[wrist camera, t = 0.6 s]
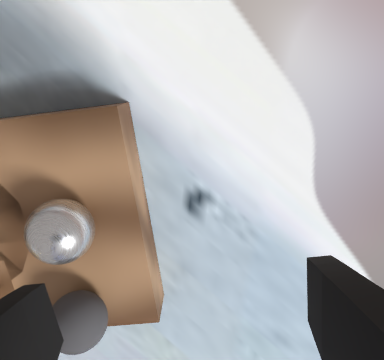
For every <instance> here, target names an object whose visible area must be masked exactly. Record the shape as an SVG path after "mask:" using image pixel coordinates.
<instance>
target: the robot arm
mask: <svg viewBox="0 0 384 360" xmlns="http://www.w3.org/2000/svg"><path fill="white" fill-rule="evenodd" d="M307 294H308V322H309V325H310V328H311V331H312V334H313V337H314V340H315V342H316V345H317V348H318V351H319V353H320V356H321V359H322V360H384V289H382V288H381V287H379V286H378V285H376V284H375V283H373V282H371V281H370V280H368V279H367V278H365V277H364V276H362V275H361V274H359V273H358V272H356V271H355V270H353V269H352V268H350V267H349V266H347V265H345V264H344V263H342V262H341V261H339V260H338V259H336V258H334V257H333V256H331V255H330V256H320V257H309V258H307ZM63 341H64V340H63V337H62V334H61V331H60V328H59V325H58V322H57V319H56V316H55V313H54V310H53V307H52V304H51V301H50V298H49V295H48V292H47V289H46V286H45V283H40V284H30V285H23V286H21V287H19V288H18V289H16V290H14V291H12V292H11V293H9V294H7V295H6V296H4V297H2V298H1V299H0V360H57V359H58V356H59V353H60V350H61V347H62V344H63Z"/></svg>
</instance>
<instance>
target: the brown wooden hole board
mask: <svg viewBox="0 0 384 360" xmlns="http://www.w3.org/2000/svg"><path fill="white" fill-rule="evenodd" d="M62 198H63V199H70V200H74V201H76V202H79V203H80V204H82V205H83V206H85V207H86V208H87V209H88V211H89V212H90V213H91V215H92V217H93V220H94V223H95V236H94V239H93V242H92V244H91V246H90V248H89V249H88V250H87V252H86V253H85V254H84V255H82V256H81V257H80V258H78V259H77V260H75V261H73V262H70V263H67V264H62V265H52V264H47V263H44V262H42V261H40V260H38V259H36V258H35V257H34V256H33V255H32V254H31V253H30V252H29V250H28V249H27V247H26V244H25V241H24V227H25V224H26V221H27V219H28V217H29V216H30V214H31V213H32V212H33V211H34V210H35V209H36V208H37V207H38V206H40V205H41V204H43V203H45V202H47V201H50V200H53V199H62ZM40 283H45V286H46V289H47V292H48V295H49V298H50V301H51V304H52V306H53V305H54V304H55V302H56V301H57V300H58V299H60V298H61V297H62V296H64V295H65V294H67V293H70V292H72V291H77V290H86V291H90V292H93V293H95V294H97V295H98V296H99V297H100V298H101V299H102V300H103V301H104V303H105V305H106V308H107V311H108V324H107V326H117V325H130V324H143V323H156V322H159V320H160V315H161V309H162V303H163V297H164V292H163V287H162V281H161V276H160V270H159V265H158V259H157V254H156V248H155V243H154V237H153V232H152V226H151V221H150V215H149V210H148V204H147V199H146V193H145V188H144V183H143V177H142V172H141V166H140V161H139V155H138V150H137V144H136V139H135V133H134V128H133V122H132V117H131V111H130V106H129V102H126V103H118V104H110V105H102V106H94V107H86V108H78V109H70V110H62V111H54V112H47V113H39V114H31V115H23V116H15V117H7V118H0V299H1V298H2V297H4V296H6V295H7V294H9V293H11V292H12V291H14V290H16V289H18V288H19V287H21V286H23V285H30V284H40Z"/></svg>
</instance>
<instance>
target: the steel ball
mask: <svg viewBox="0 0 384 360" xmlns="http://www.w3.org/2000/svg"><path fill="white" fill-rule="evenodd" d="M94 236H95V223H94V220H93V217H92V215H91V213H90V212H89V211H88V209H87V208H86V207H85V206H83V205H82V204H80V203H79V202H76V201H74V200H70V199H63V198H62V199H53V200H50V201H47V202H45V203H43V204H41V205H40V206H38V207H37V208H36V209H35V210H34V211H33V212H32V213H31V214H30V216H29V217H28V219H27V221H26V224H25V227H24V241H25V244H26V247H27V249H28V250H29V252H30V253H31V254H32V255H33V256H34V257H35V258H36V259H38V260H40V261H42V262H44V263H47V264H52V265H62V264H67V263H70V262H73V261H75V260H77V259H78V258H80V257H81V256H82V255H84V254H85V253H86V252H87V250H88V249H89V248H90V246H91V244H92V242H93V239H94Z"/></svg>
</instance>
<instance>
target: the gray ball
mask: <svg viewBox="0 0 384 360" xmlns="http://www.w3.org/2000/svg"><path fill="white" fill-rule="evenodd" d="M52 307H53V310H54V313H55V316H56V319H57V322H58V325H59V328H60V331H61V334H62V337H63V340H64V341H63V344H62V347H61V350H60V352H61V353H64V354H68V355H76V354H81V353H84V352H86V351H88V350H90V349H91V348H93V347H94V346H95V345H96V344H97V343H98V342H99V341H100V340H101V338H102V337H103V335H104V333H105V331H106V328H107V324H108V311H107V308H106V305H105V303H104V301H103V300H102V299H101V298H100V297H99V296H98V295H97V294H95V293H93V292H90V291H86V290H77V291H72V292H70V293H67V294H65V295H64V296H62V297H61V298H60V299H58V300H57V301H56V302H55V304H54V305H53V306H52Z"/></svg>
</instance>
